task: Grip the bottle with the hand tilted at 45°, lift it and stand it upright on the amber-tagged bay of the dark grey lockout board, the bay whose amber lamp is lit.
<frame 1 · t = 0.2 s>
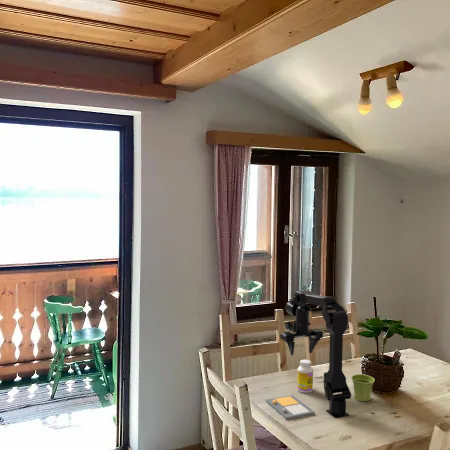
hand: (301, 354, 217), 15 cm above the table, tool pointing down, fingers open, 9 cm apart
plant pot: (362, 399, 207), on the table
lockout board: (289, 408, 197), on the table
supplement bottle: (304, 390, 214), on the table
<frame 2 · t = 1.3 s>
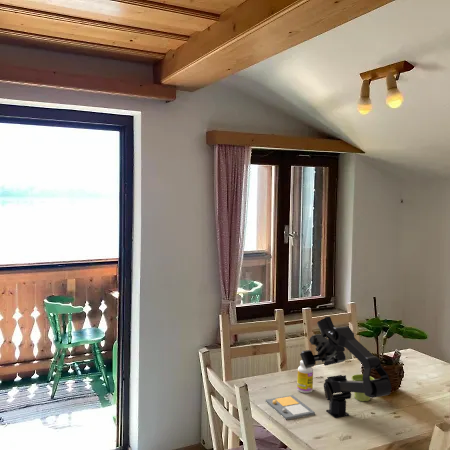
hand: (315, 366, 207), 13 cm above the table, tool tilted 45°, fingers open, 9 cm apart
nothing on the table moved.
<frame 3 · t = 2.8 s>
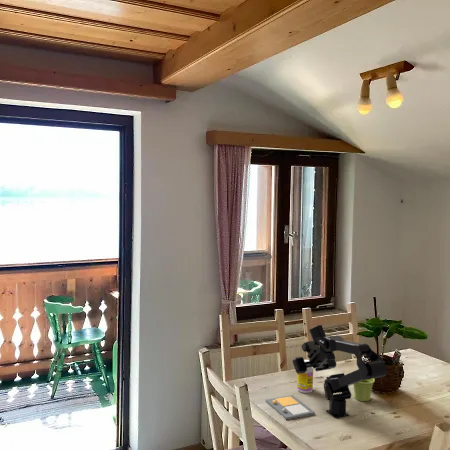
hand: (306, 371, 213), 9 cm above the table, tool tilted 45°, fingers open, 9 cm apart
nothing on the table moved.
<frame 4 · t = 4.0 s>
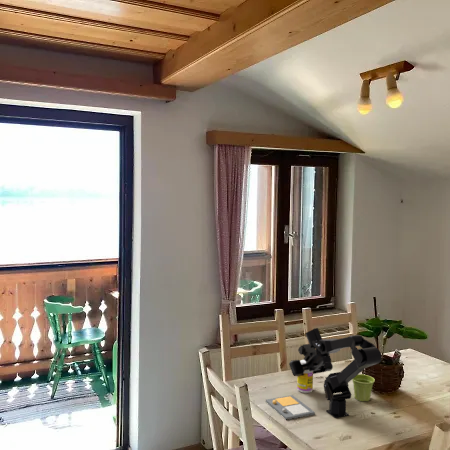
hand: (303, 374, 215), 7 cm above the table, tool tilted 45°, fingers closed on supplement bottle, 7 cm apart
supplement bottle: (304, 390, 214), on the table, touching gripper
everything else where it was.
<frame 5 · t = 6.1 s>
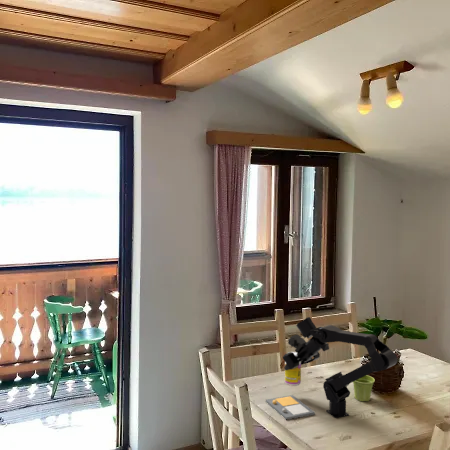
hand: (290, 367, 208), 12 cm above the table, tool tilted 45°, fingers closed on supplement bottle, 7 cm apart
supplement bottle: (292, 384, 208), point 5 cm above the table, touching gripper
everything else where it was.
when the fingers open (9 cm above the table, at t = 8.0 s): supplement bottle stays where it is, resting on lockout board.
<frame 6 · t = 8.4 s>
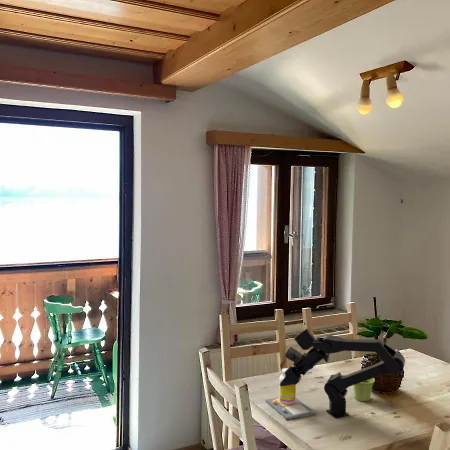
hand: (283, 381, 201), 9 cm above the table, tool tilted 45°, fingers open, 9 cm apart
supplement bottle: (287, 401, 201), point 1 cm above the table, touching lockout board
everything else where it was.
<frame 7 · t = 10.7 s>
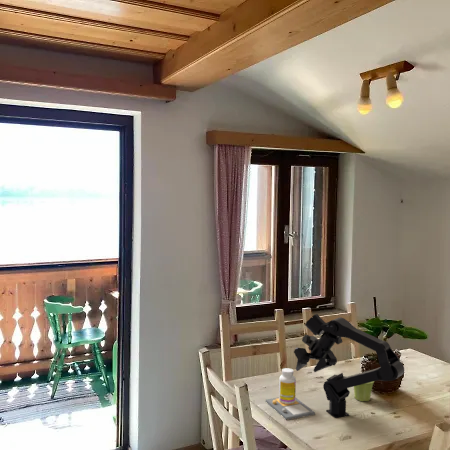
hand: (305, 370, 201), 13 cm above the table, tool tilted 35°, fingers open, 9 cm apart
nothing on the table moved.
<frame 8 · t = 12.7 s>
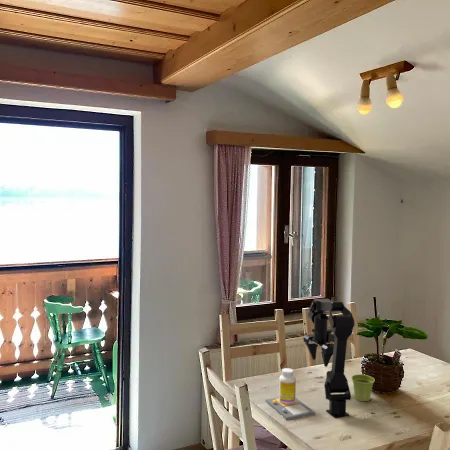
hand: (319, 363, 214), 12 cm above the table, tool pointing down, fingers open, 9 cm apart
nothing on the table moved.
at the end: supplement bottle 0.1 cm from the target spot, point 0.9 cm above the table; supplement bottle tilted 0°; the gripper is holding nothing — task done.
